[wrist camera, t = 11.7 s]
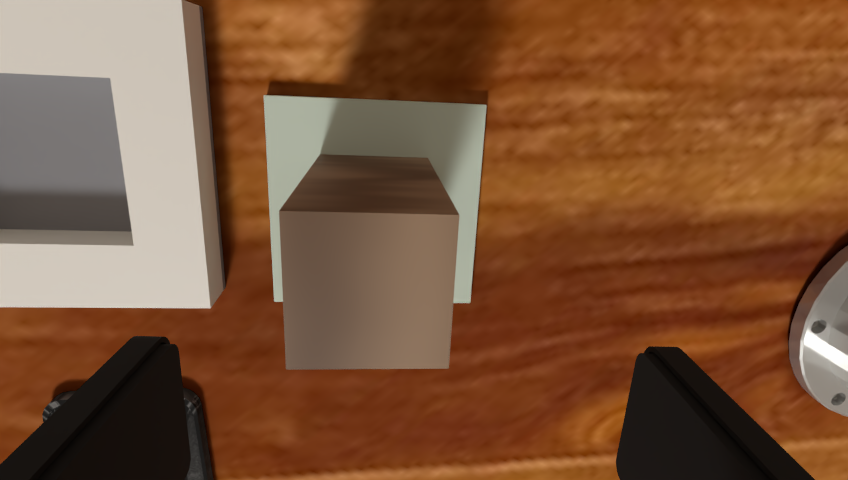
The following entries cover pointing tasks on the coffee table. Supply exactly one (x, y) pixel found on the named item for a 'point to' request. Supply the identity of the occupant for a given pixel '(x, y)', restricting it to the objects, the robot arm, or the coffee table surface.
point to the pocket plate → (107, 156)
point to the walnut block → (368, 265)
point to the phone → (200, 462)
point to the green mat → (377, 154)
